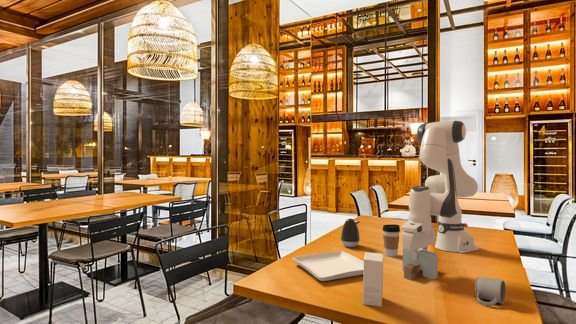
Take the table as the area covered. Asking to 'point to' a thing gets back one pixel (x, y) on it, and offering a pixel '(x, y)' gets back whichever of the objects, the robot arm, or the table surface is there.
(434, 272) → the grey flat block
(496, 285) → the ceramic mug
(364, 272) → the skincare box
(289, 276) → the table surface
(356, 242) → the pump dispenser
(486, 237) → the table surface
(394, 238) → the coffee cup
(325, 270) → the square plate
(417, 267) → the walnut rail
